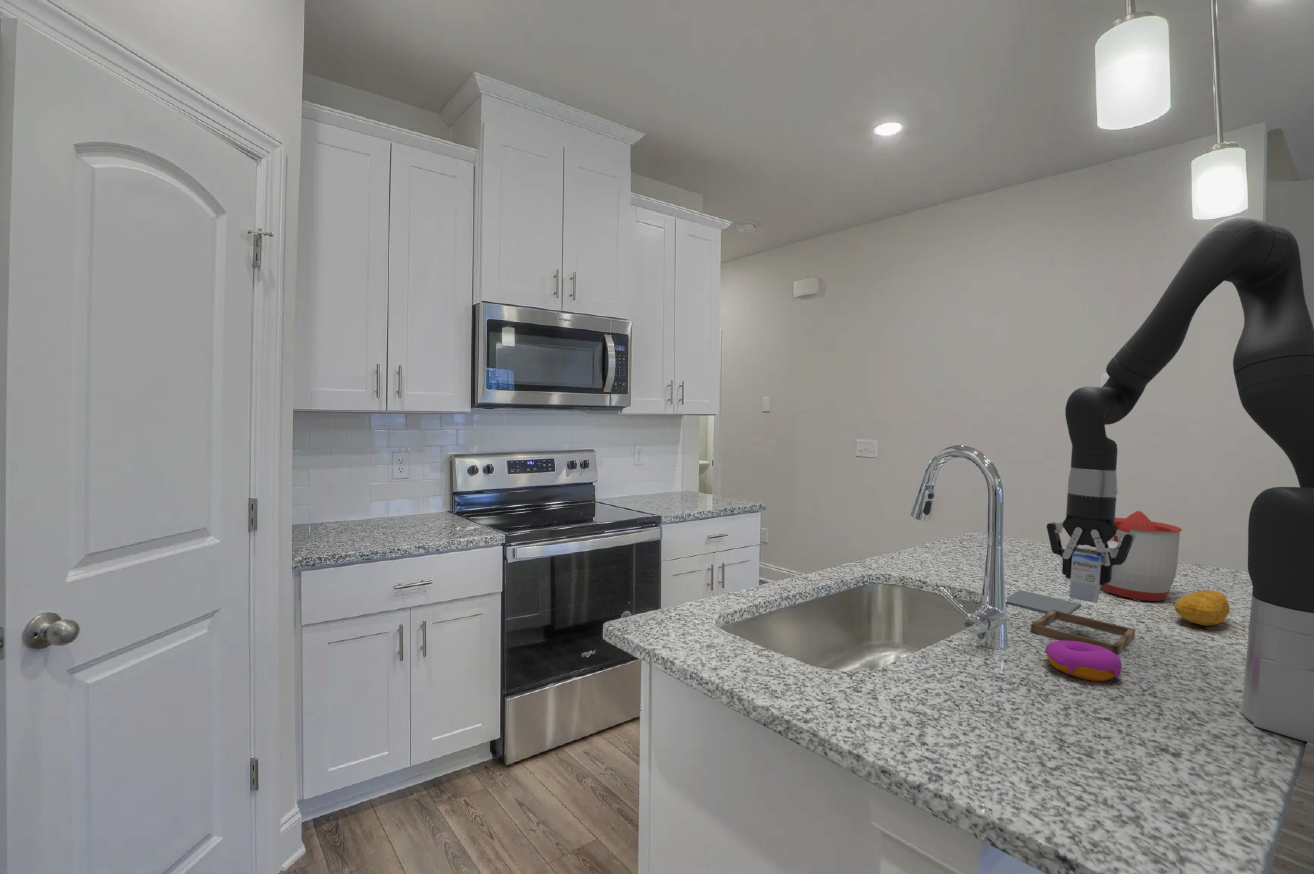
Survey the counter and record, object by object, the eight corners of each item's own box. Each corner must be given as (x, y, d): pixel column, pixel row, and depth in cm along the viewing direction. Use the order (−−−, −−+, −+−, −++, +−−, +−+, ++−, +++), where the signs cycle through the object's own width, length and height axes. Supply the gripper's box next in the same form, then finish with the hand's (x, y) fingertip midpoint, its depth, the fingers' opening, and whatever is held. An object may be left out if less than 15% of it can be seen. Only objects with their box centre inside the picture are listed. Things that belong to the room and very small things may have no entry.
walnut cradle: (1117, 655, 106) (1117, 647, 106) (1030, 631, 116) (1031, 624, 116) (1134, 637, 115) (1135, 629, 115) (1052, 616, 125) (1053, 609, 125)
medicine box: (1072, 589, 120) (1075, 546, 119) (1100, 594, 117) (1103, 549, 116) (1068, 598, 113) (1071, 552, 113) (1098, 603, 111) (1101, 556, 110)
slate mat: (1064, 617, 125) (1064, 615, 125) (1001, 602, 134) (1001, 600, 134) (1080, 606, 133) (1080, 603, 133) (1020, 592, 142) (1020, 590, 142)
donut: (1118, 669, 101) (1120, 643, 100) (1123, 693, 92) (1125, 664, 92) (1044, 653, 106) (1046, 628, 106) (1043, 674, 98) (1045, 647, 98)
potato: (1237, 623, 124) (1240, 591, 124) (1214, 636, 117) (1217, 602, 117) (1189, 612, 131) (1191, 581, 131) (1165, 623, 124) (1167, 590, 123)
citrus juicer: (1070, 587, 147) (1076, 506, 146) (1122, 582, 152) (1128, 504, 151) (1138, 608, 132) (1145, 518, 131) (1193, 602, 138) (1200, 516, 136)
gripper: (1042, 489, 117) (1037, 576, 118) (1134, 499, 106) (1128, 594, 107) (1053, 487, 122) (1048, 570, 123) (1143, 495, 111) (1137, 586, 112)
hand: (1086, 580), depth 115 cm, fingers closed on medicine box, 5 cm apart
